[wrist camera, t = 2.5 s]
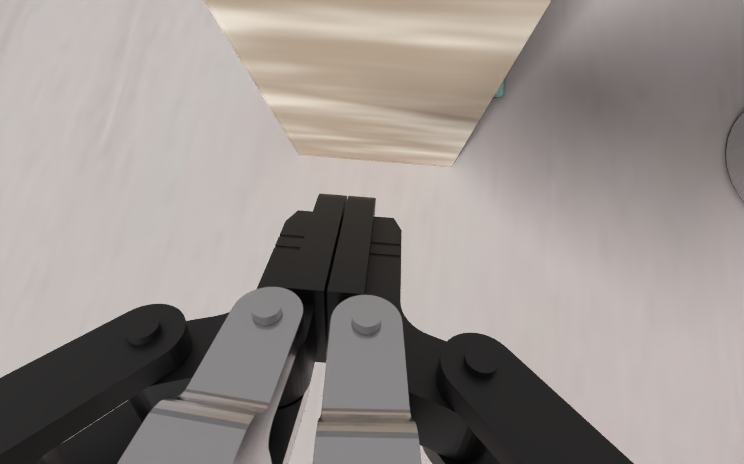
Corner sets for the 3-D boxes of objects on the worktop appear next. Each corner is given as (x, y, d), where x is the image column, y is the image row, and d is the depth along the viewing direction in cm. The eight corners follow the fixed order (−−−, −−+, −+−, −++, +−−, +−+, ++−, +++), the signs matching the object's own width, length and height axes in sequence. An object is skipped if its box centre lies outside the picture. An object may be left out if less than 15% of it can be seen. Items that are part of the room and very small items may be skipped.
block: (305, 97, 26) (193, -188, 10) (454, 108, 26) (572, -168, 10) (298, 154, 26) (169, -55, 10) (451, 166, 25) (569, -30, 10)
